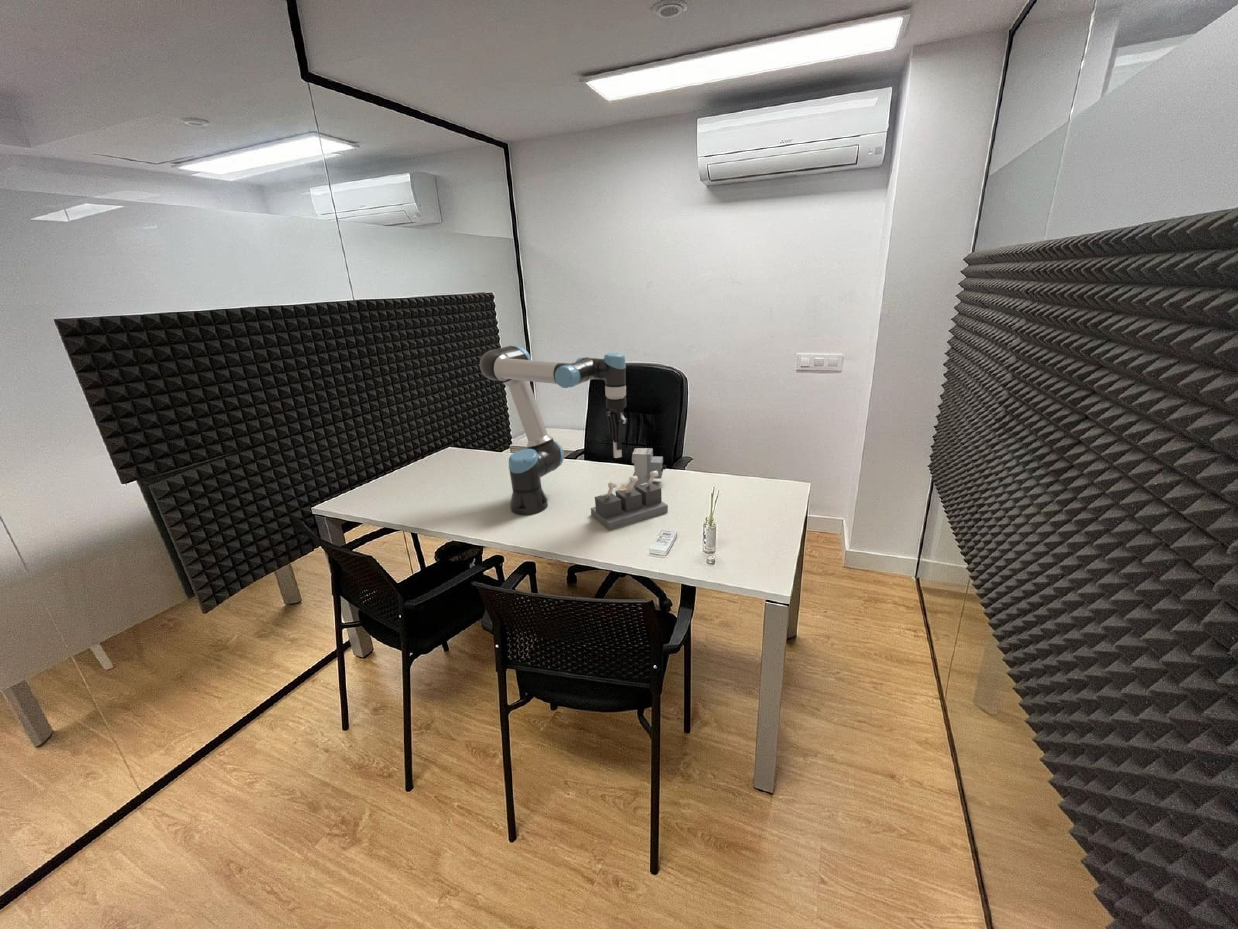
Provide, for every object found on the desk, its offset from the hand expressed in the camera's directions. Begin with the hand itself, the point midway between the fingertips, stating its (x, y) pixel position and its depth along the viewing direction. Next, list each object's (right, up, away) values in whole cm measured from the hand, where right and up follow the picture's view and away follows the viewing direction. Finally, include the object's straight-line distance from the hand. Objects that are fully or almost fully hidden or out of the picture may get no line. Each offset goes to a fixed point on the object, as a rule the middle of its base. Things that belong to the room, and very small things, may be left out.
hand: (617, 456), depth 185 cm
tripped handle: (+4, -13, 0) cm, 14 cm away
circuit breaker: (+15, -11, +31) cm, 36 cm away
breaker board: (+5, -22, +4) cm, 23 cm away
